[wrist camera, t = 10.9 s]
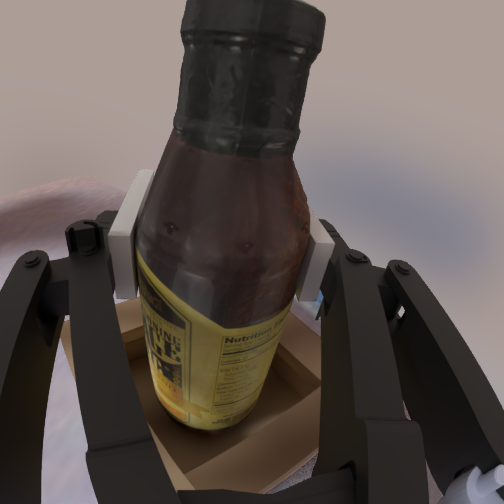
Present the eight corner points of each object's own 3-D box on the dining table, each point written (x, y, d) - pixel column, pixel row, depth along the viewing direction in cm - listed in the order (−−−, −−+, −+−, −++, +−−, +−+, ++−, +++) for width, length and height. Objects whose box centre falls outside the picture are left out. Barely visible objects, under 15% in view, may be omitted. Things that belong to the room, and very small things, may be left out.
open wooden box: (79, 378, 19) (56, 324, 16) (227, 318, 27) (235, 264, 24) (178, 544, 11) (168, 542, 7) (343, 430, 19) (380, 386, 16)
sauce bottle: (153, 362, 19) (150, 14, 9) (242, 355, 21) (300, 32, 10) (163, 450, 14) (137, -37, 3) (269, 436, 16) (403, 23, 5)
